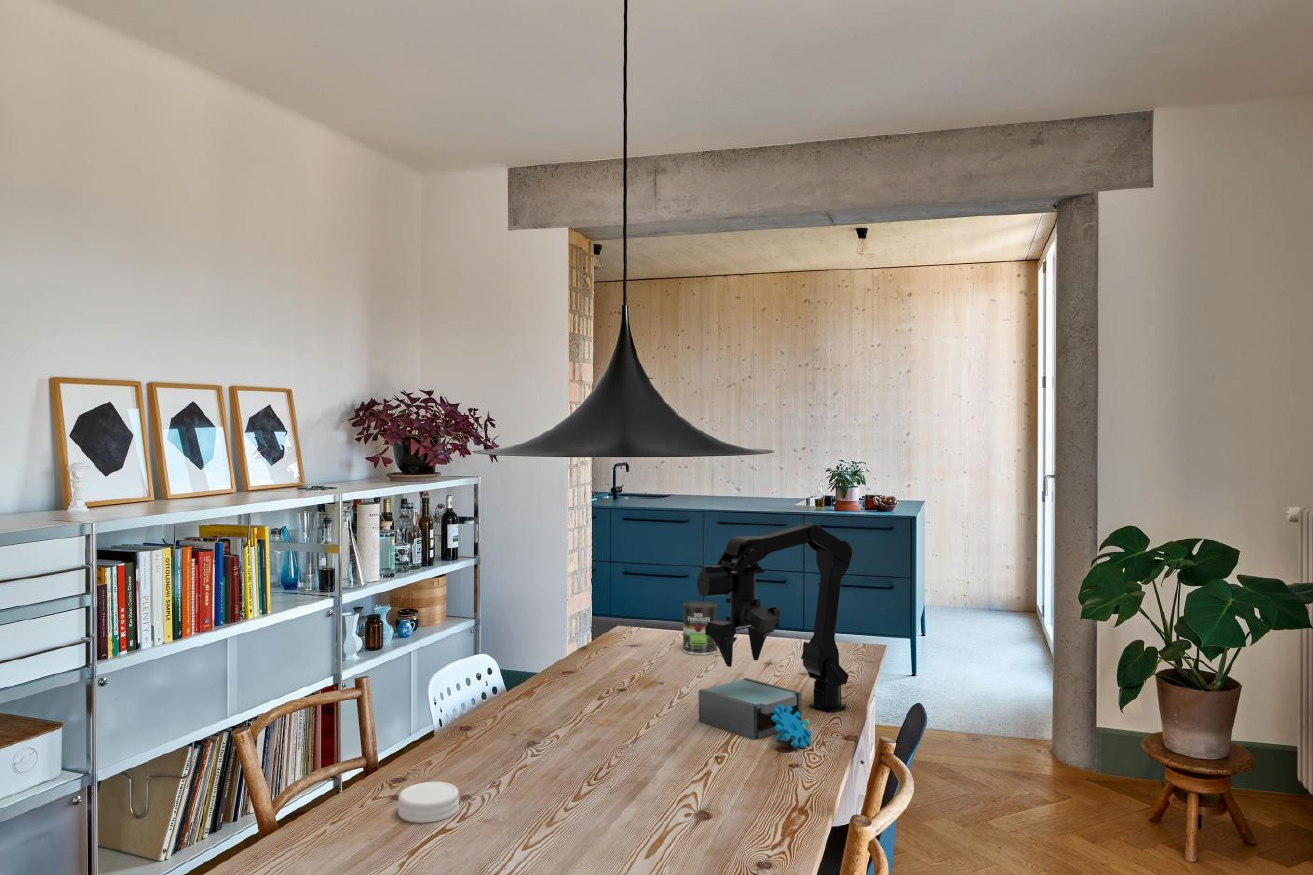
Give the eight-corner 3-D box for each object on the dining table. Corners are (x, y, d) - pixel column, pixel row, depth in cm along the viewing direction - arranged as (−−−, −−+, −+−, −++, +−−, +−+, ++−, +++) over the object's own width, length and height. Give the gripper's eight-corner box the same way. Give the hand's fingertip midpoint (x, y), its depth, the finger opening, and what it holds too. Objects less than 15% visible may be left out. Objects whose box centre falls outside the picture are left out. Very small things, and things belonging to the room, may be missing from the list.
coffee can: (715, 656, 265) (715, 607, 265) (680, 654, 267) (680, 606, 267) (719, 647, 275) (719, 601, 275) (685, 646, 277) (685, 600, 277)
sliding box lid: (742, 687, 214) (742, 679, 214) (801, 703, 201) (801, 694, 201) (703, 698, 205) (703, 689, 205) (761, 715, 192) (761, 705, 192)
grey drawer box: (746, 707, 214) (746, 677, 214) (803, 724, 202) (803, 692, 202) (698, 721, 204) (698, 689, 204) (755, 740, 191) (755, 706, 191)
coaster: (402, 828, 148) (402, 806, 148) (394, 805, 157) (394, 785, 157) (464, 818, 152) (464, 797, 152) (452, 796, 161) (452, 777, 161)
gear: (792, 747, 182) (767, 703, 188) (774, 763, 185) (750, 719, 191) (824, 742, 190) (800, 700, 196) (806, 757, 192) (782, 716, 198)
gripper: (740, 603, 193) (740, 677, 193) (797, 593, 205) (797, 663, 205) (703, 596, 201) (703, 667, 201) (760, 587, 213) (760, 654, 213)
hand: (742, 663), depth 205 cm, fingers open, 8 cm apart
